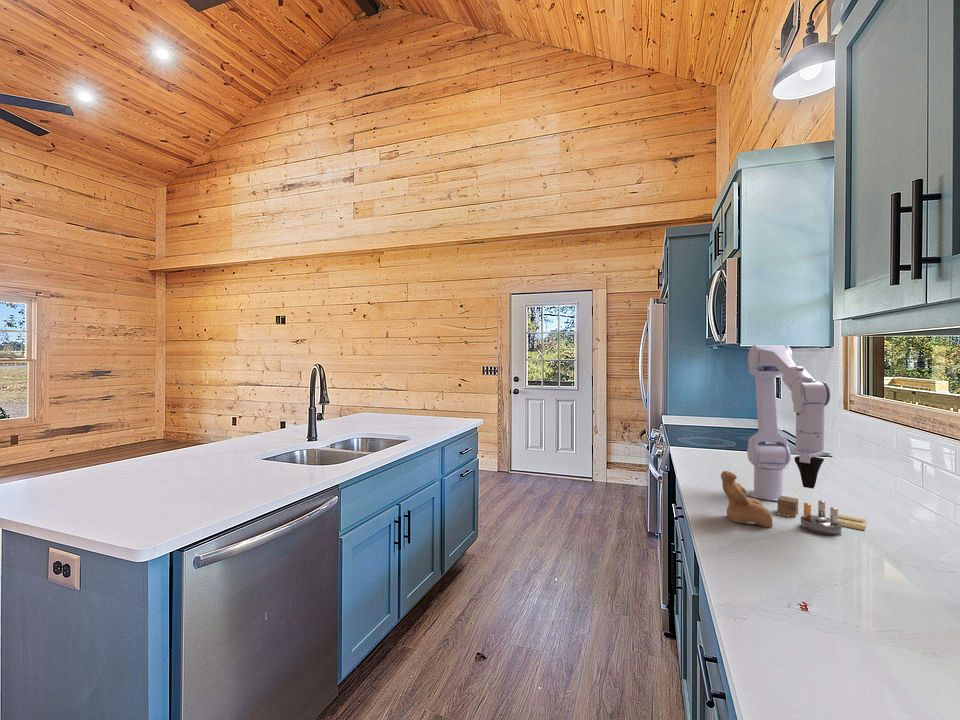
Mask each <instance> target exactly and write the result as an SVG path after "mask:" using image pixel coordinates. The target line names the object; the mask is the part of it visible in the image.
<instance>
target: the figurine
mask: <svg viewBox="0 0 960 720" xmlns="http://www.w3.org/2000/svg"><path fill="white" fill-rule="evenodd" d="M720 478H721V482H722V484H721V485H722V489H723V491H724V493H725V495H726V497H727V499H728V505H727V507H726V514H727V518H728V519H729V520H731V521H732V522H734V523H739V524H743V523H748V522H752V523H754V524H756V525H758V526H761V527H764V528H771V527H773V526H774V525H773V518H772V514H771V512H770V511H769V509H767V507H764V506H763V504H762V502H761V501H760V500H759V499H758V498H754V497H750V496H749V497H748V496H747V492H748V491H747V490H746V488H745V487H743V485H741V484H740V483H738V482H736V479H737V474H735V473H734V472H731V471H729V470H727V471H726V470H723V471H722V472H721V474H720Z"/></svg>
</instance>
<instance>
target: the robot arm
mask: <svg viewBox="0 0 960 720" xmlns="http://www.w3.org/2000/svg"><path fill="white" fill-rule="evenodd" d="M747 364H748V370H749V373H748V374H750V375H752V376H754V381H755V395H756V396H755V399H756V412H757V413H756V414H757V429H758V430H757V432H756V433H755V434H753V435H752V436H750V437H749V438H748V445H747V449H746V450H747V452H746V453H747V458H748V461H749V462H750V464H751V465H753V491H752V492H751V493H750V494H749V498H754V499H762V500H768V501H771V500H772V501H773V502H777V501H778V498H779V497H780V496H786V497H788V493H786V492H784V479H785V478H784V469H786V466H788V465H789V464H790V462H791V458H792V454H791V450H790V447H789V441H788V439H787V438H786V437H784V436H783V435H782V434H781V433H779V432H778V416H777V403H776V402H777V401H776V400H777V399H776V387H775V386H776V385H775V379H776V377H777V376H779V375H782V378H781V379H782V381H783V383H784V384H785V386H787V388H788V389H789V390H790V391H791V401H792V404H793V411H794V412H795V448H794V451H793V452H795V454H797V456H795V457H794V463H795V464H796V466H797V468H798V470H799V473H800V479H801V483H802V487H803V488H806V489H815V486H816V483H817V480H818V475H819V471H820V468H821V467H822V464H823V463H824V462H825V458H824V457H820V456H830V454H831V452H830V451H829V450H824V449H825V446H824V445H825V406H827V405H828V404H829V402H830V400H831V390H830V387H829V385H828V384H827V382H825V381H818V380H815V379H814V378H813V376H812V375H811V374H810V373H809V372H808V371H807V370H806V368H805V367H804V366H801V365H799V366H798V365H796V363H795V362H794V360H793V351H792V349H791V347H790V345H788V344H783V345H756V344H753V345H751V347H750V348H749V350H748V354H747Z"/></svg>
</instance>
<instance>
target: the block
mask: <svg viewBox="0 0 960 720" xmlns="http://www.w3.org/2000/svg"><path fill="white" fill-rule="evenodd" d="M776 513H780V514H785V515H784V516H786V515H789V516H788V517H791V516H793V517H792V518H796V517H797V516H798V514H799V498H798V497H791V496H780V497H779V498H778V502H777V512H776ZM780 514H779V515H780ZM796 515H797V516H796Z"/></svg>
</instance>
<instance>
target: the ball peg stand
mask: <svg viewBox="0 0 960 720" xmlns="http://www.w3.org/2000/svg"><path fill="white" fill-rule="evenodd" d="M817 506H818V507H817V515H812V511H811V510H812V504H811V503H808V502H804V503H803V515H802V516H801V517H800V528H801V527H802V528H801V529H803V530H805V531H806V530H807V531H806V532H808V533H812V532H813V534H816V535H820V536H821V535H822V536H831V537H833V536H840V535H842V528H843V526H842V524H841V523H840V522H838V515H839V509H838V508H837V507H834V506H830V507H829V508H830V511H829V513H830V515H829V517H827V516H826V501H825V500H820V499H819V500H818V501H817Z"/></svg>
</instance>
